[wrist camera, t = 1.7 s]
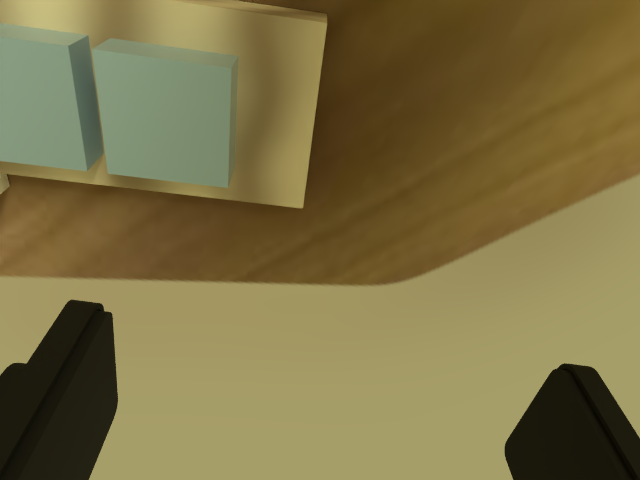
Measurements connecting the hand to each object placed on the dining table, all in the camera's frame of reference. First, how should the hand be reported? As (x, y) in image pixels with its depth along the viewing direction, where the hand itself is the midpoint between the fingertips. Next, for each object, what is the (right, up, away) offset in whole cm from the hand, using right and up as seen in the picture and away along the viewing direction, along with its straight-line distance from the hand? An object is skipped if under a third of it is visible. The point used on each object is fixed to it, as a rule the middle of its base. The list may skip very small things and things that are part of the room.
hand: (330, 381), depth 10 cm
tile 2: (-7, +10, +14) cm, 19 cm away
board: (-9, +11, +16) cm, 22 cm away
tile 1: (-14, +10, +14) cm, 22 cm away
